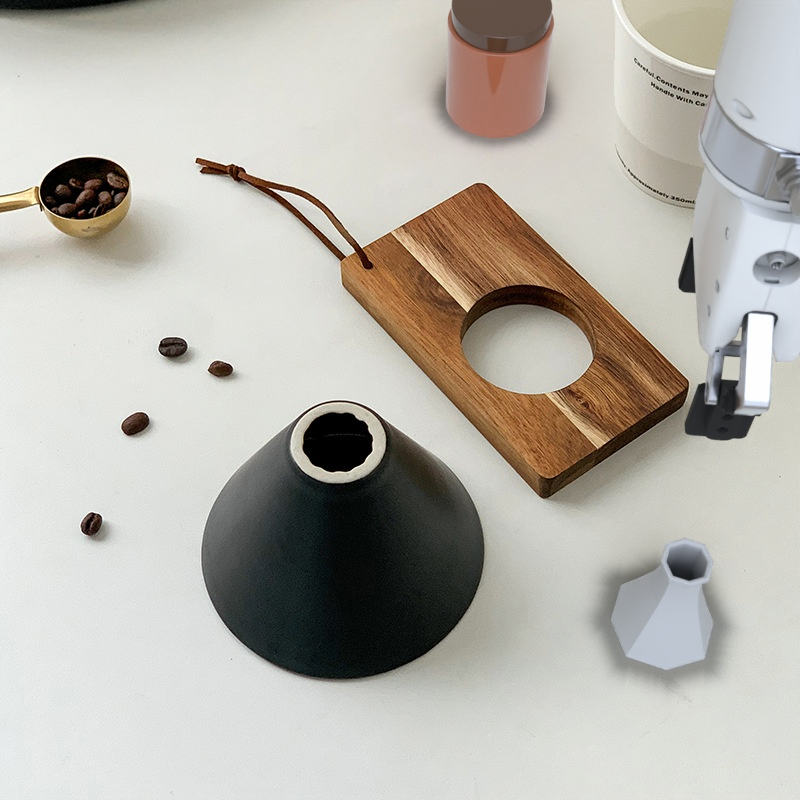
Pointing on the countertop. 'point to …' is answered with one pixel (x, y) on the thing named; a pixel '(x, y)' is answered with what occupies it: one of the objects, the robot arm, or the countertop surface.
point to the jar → (498, 64)
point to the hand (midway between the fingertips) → (709, 358)
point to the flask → (667, 608)
